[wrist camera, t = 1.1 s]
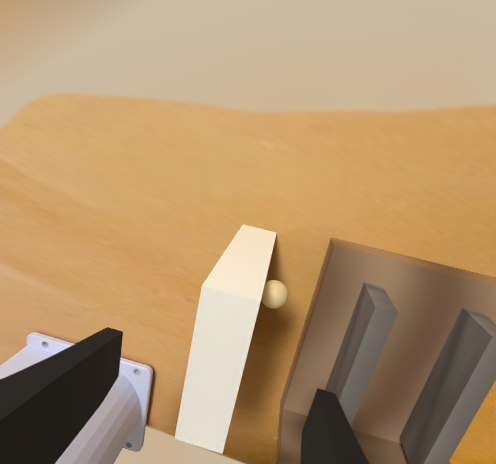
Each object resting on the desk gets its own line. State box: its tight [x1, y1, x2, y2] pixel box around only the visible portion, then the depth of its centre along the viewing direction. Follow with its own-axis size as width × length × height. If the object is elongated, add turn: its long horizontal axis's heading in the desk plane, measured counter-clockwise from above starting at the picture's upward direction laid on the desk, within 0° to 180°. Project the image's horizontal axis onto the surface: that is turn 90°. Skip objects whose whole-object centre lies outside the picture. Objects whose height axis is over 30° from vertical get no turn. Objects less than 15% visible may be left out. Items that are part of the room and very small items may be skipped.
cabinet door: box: [175, 225, 288, 454], centre depth 15 cm, size 3×7×8 cm, turn 169°
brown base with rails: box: [276, 238, 496, 464], centre depth 15 cm, size 10×12×6 cm
